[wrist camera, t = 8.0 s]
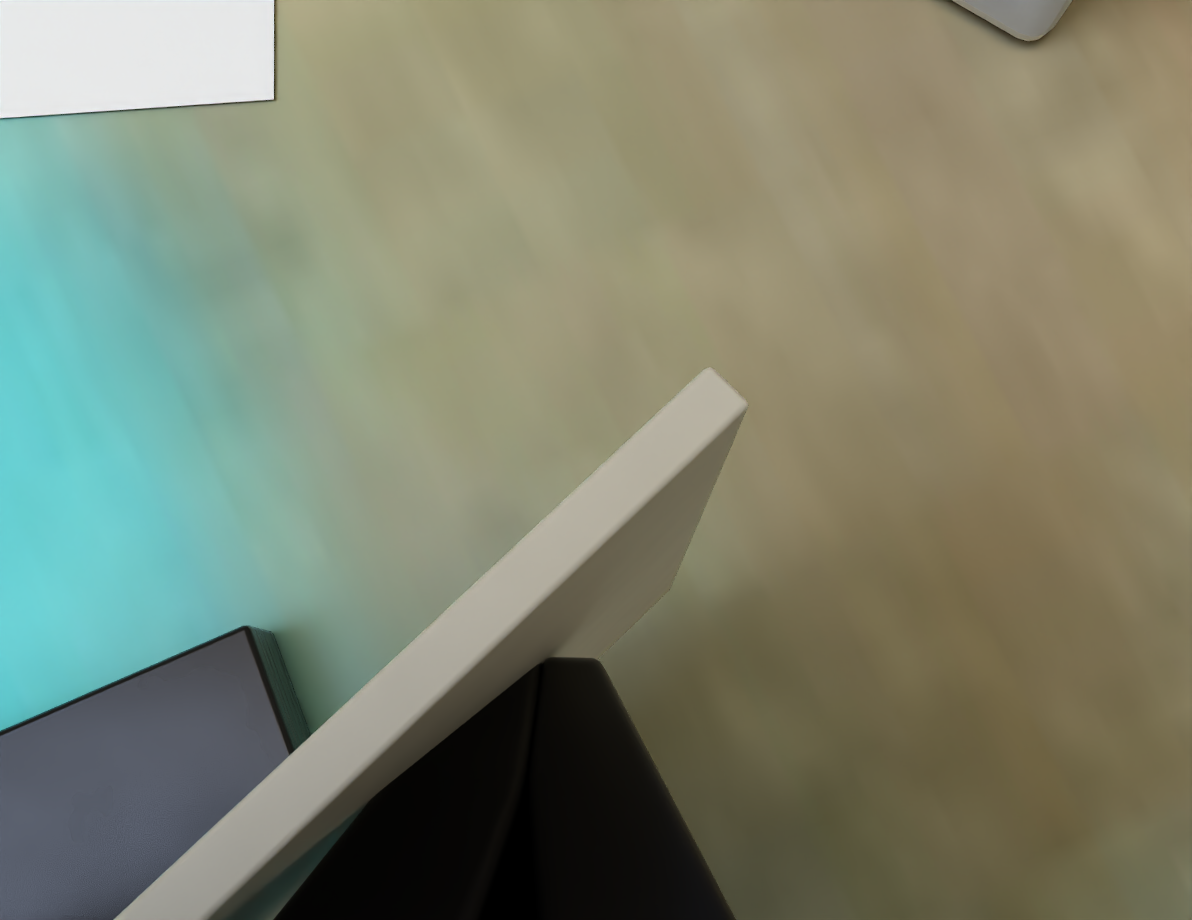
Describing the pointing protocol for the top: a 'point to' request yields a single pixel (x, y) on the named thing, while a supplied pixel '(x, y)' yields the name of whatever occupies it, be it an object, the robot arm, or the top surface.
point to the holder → (138, 775)
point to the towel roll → (470, 658)
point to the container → (1019, 15)
